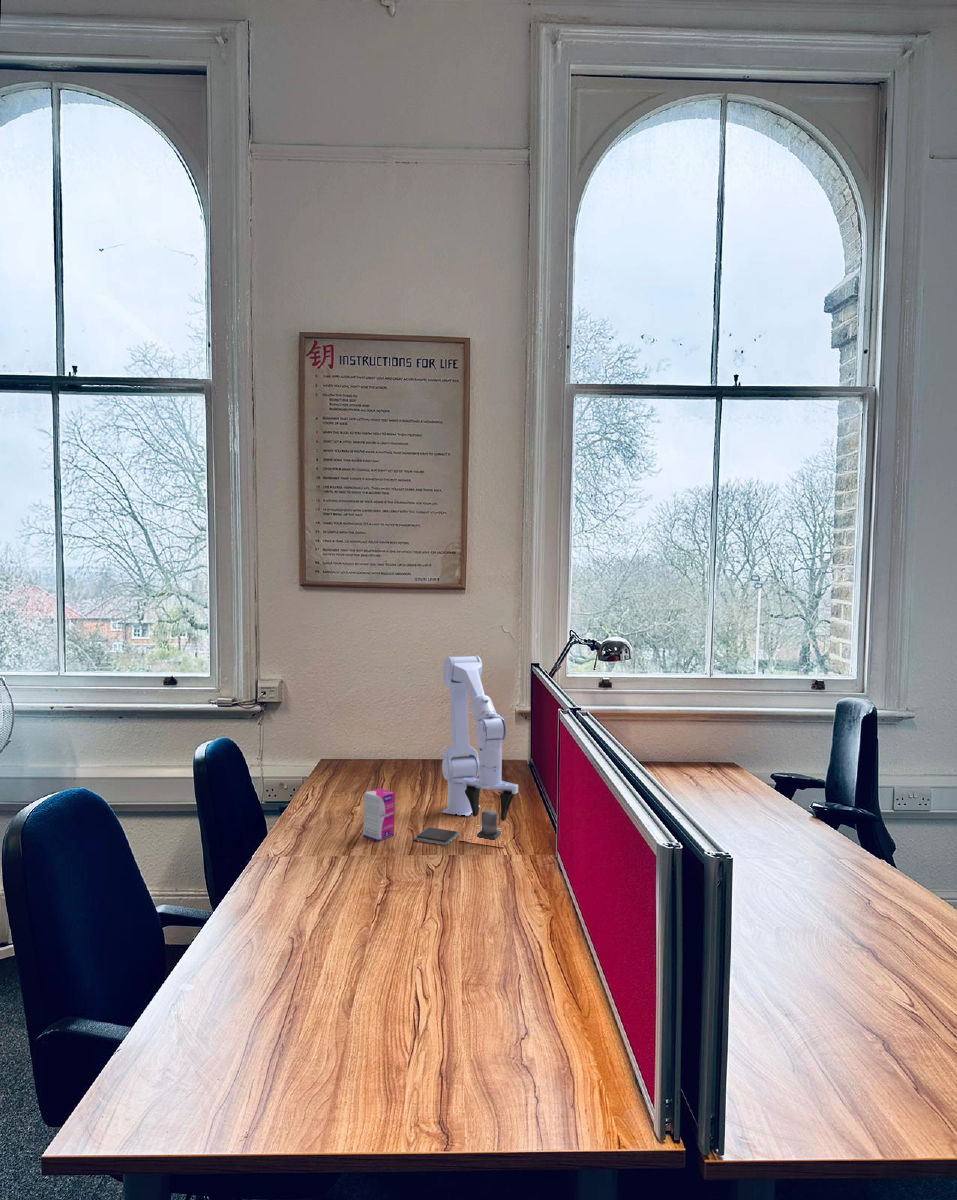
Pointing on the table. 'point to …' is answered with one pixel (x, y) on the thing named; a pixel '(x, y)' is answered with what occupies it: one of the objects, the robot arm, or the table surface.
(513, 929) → the table surface
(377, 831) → the supplement box
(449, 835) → the ink pad
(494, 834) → the stamp
